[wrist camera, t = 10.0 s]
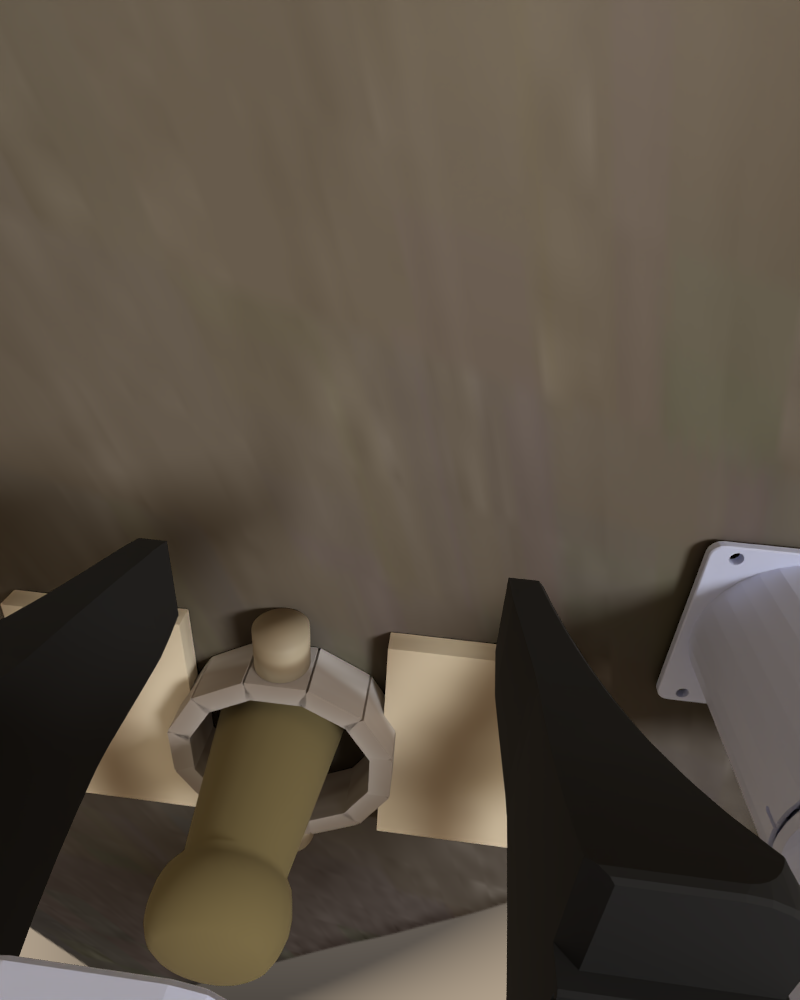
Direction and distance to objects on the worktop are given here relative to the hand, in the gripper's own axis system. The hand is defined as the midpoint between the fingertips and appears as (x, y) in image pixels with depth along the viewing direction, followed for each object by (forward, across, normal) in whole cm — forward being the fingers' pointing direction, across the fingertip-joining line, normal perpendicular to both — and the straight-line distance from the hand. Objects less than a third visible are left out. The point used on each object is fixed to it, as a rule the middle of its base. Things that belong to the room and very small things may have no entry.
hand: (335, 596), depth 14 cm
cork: (+11, +4, +16) cm, 20 cm away
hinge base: (+10, +4, +17) cm, 20 cm away
